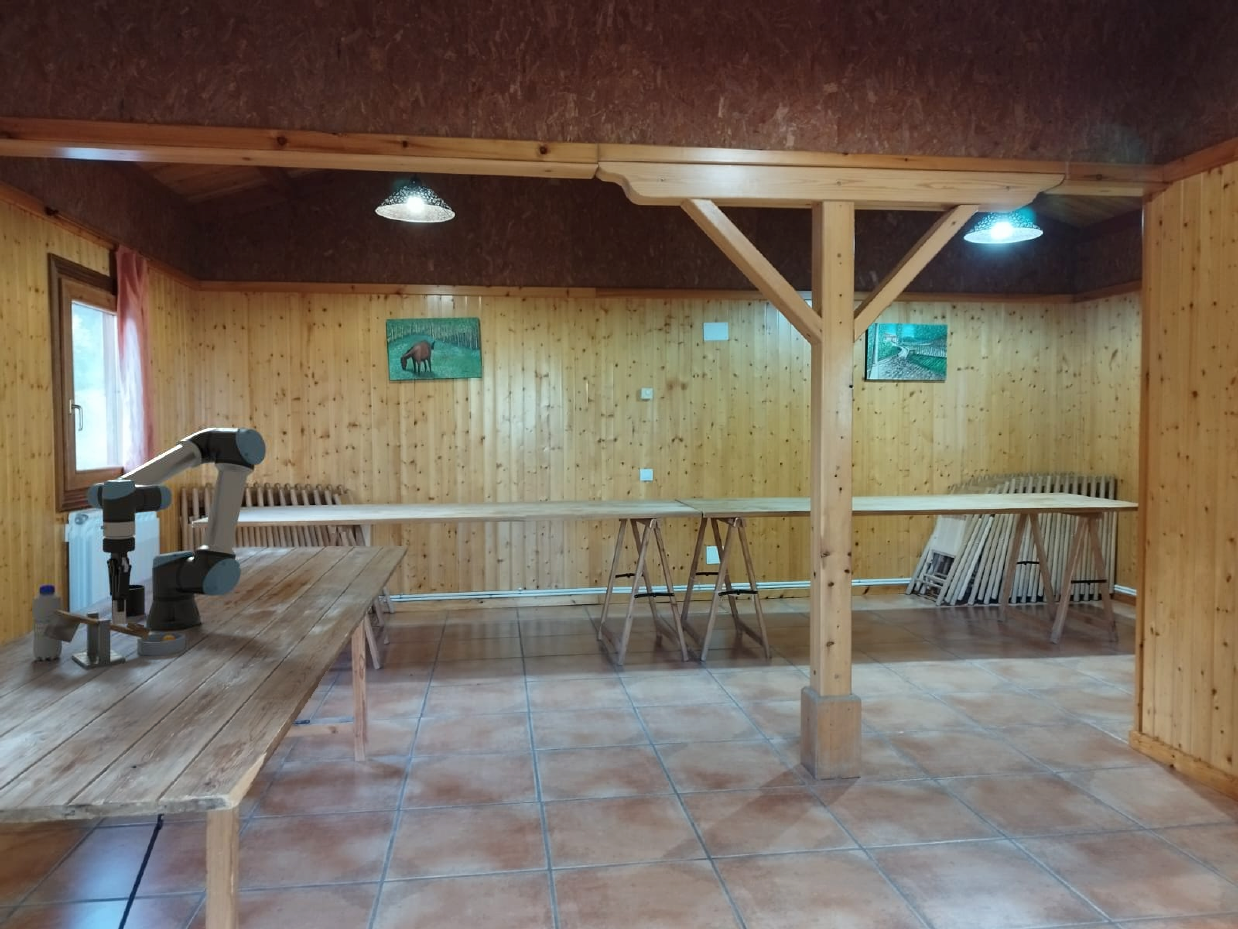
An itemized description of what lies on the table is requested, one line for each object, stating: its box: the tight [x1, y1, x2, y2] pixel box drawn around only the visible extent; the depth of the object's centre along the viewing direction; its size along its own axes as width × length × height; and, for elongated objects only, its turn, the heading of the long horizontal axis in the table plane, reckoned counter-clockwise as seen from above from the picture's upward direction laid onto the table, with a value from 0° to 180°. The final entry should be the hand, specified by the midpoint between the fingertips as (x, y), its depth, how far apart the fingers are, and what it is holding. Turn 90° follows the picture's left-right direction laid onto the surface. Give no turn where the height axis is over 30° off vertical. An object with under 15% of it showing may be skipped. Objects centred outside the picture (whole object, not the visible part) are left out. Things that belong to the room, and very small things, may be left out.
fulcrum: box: [71, 611, 127, 670], centre depth 217 cm, size 9×14×12 cm, turn 47°
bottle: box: [31, 584, 63, 662], centre depth 217 cm, size 7×7×20 cm
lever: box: [44, 609, 152, 643], centre depth 217 cm, size 22×8×8 cm, turn 138°
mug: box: [111, 584, 146, 618], centre depth 271 cm, size 9×12×9 cm
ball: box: [162, 635, 175, 642], centre depth 230 cm, size 3×3×3 cm
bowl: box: [136, 631, 186, 656], centre depth 229 cm, size 11×11×4 cm
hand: (119, 623), depth 221 cm, fingers closed
